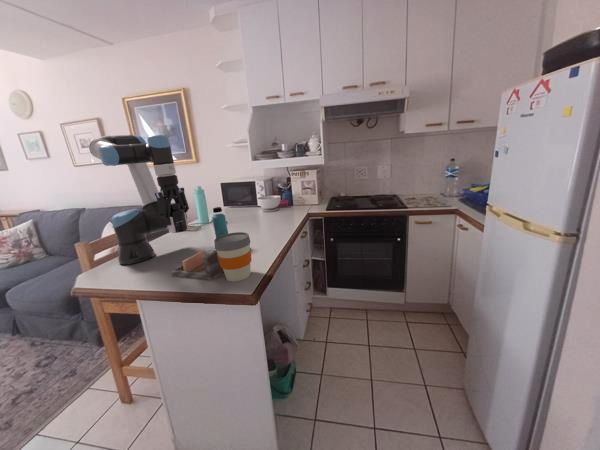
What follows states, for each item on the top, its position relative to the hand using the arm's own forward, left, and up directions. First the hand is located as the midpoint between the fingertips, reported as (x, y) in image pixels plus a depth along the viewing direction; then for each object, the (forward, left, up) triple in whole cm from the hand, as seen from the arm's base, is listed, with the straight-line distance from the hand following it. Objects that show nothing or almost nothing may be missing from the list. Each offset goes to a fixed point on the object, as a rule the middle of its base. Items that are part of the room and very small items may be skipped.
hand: (179, 229), depth 113 cm
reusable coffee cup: (+32, -8, -15) cm, 37 cm away
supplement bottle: (0, 0, -1) cm, 1 cm away
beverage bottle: (+5, +20, -15) cm, 26 cm away
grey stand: (+14, -6, -15) cm, 22 cm away
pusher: (+11, -6, -14) cm, 19 cm away
